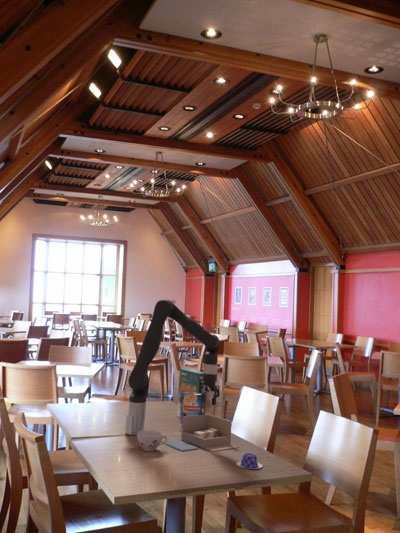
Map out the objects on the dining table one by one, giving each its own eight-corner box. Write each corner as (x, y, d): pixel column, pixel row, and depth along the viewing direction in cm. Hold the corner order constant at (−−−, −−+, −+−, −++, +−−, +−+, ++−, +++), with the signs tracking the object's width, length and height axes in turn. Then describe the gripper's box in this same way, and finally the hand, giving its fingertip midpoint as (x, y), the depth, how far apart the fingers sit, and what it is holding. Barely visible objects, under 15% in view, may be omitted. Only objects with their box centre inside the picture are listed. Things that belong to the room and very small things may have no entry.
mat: (182, 451, 273) (182, 450, 273) (161, 442, 287) (161, 441, 287) (198, 449, 279) (198, 447, 279) (177, 440, 293) (177, 439, 293)
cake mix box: (204, 423, 340) (207, 373, 342) (196, 423, 337) (199, 373, 339) (185, 415, 358) (187, 368, 360) (177, 416, 355) (180, 368, 357)
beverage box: (200, 435, 309) (203, 394, 310) (181, 435, 306) (184, 394, 308) (198, 432, 315) (200, 392, 317) (179, 432, 313) (181, 392, 314)
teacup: (137, 453, 265) (138, 436, 265) (134, 446, 277) (135, 430, 277) (168, 453, 268) (170, 436, 269) (163, 446, 280) (165, 430, 281)
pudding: (244, 471, 247) (245, 459, 248) (231, 463, 258) (232, 452, 259) (267, 469, 252) (268, 457, 253) (253, 461, 263) (254, 450, 264)
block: (198, 443, 288) (199, 432, 288) (193, 441, 291) (193, 430, 292) (218, 440, 296) (218, 430, 296) (212, 438, 299) (213, 428, 300)
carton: (211, 451, 276) (213, 427, 276) (181, 439, 296) (182, 416, 297) (238, 447, 286) (239, 423, 287) (207, 436, 307) (208, 414, 307)
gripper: (196, 371, 299) (194, 401, 298) (213, 374, 288) (211, 406, 287) (207, 370, 304) (205, 400, 303) (224, 374, 293) (222, 405, 292)
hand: (208, 403), depth 295 cm, fingers open, 8 cm apart
